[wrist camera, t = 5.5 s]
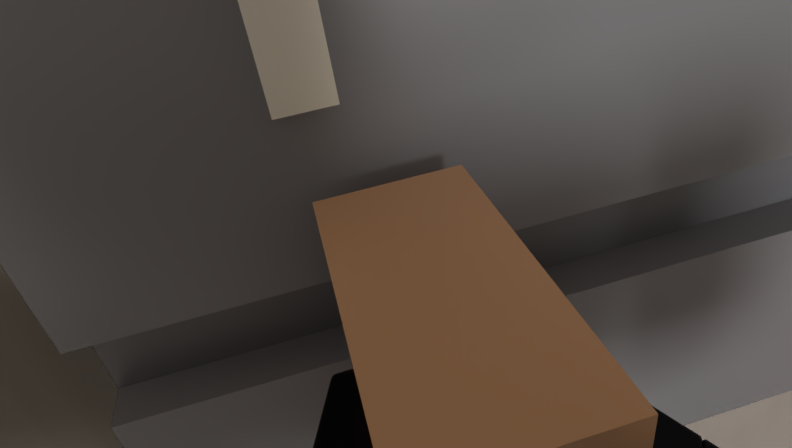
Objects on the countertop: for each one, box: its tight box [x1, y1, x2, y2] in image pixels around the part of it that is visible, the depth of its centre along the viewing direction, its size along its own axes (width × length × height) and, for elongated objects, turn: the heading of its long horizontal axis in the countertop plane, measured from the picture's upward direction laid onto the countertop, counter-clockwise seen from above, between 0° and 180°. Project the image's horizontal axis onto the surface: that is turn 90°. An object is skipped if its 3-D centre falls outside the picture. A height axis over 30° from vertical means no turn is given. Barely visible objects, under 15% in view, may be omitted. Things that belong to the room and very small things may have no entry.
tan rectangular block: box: [312, 165, 658, 448], centre depth 9 cm, size 6×2×6 cm, turn 8°
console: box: [0, 0, 792, 448], centre depth 12 cm, size 14×22×2 cm, turn 98°
